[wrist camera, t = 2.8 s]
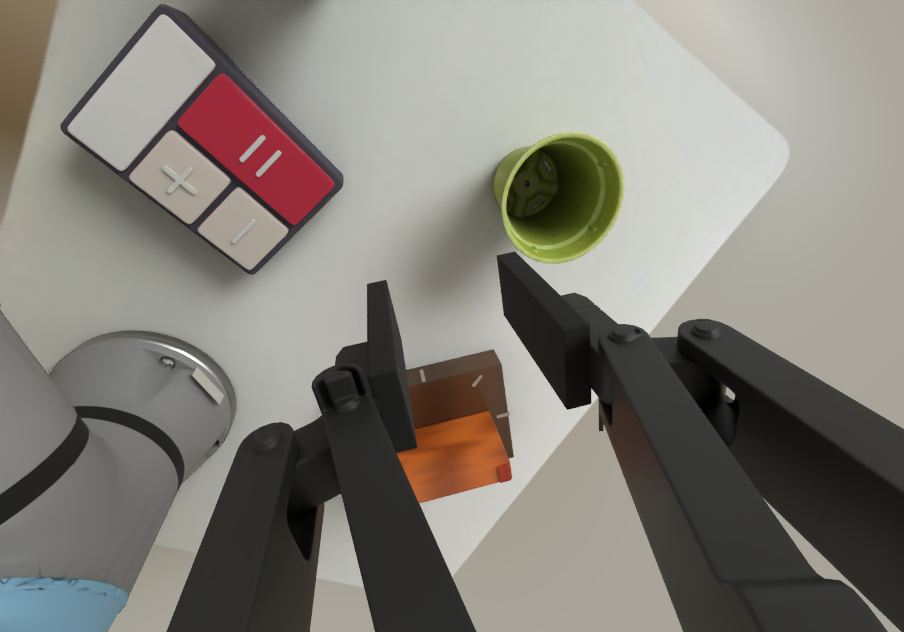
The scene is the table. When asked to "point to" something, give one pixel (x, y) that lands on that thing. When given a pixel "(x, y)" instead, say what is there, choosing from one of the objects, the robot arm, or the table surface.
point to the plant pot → (559, 196)
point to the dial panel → (460, 392)
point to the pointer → (456, 457)
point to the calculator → (203, 141)
